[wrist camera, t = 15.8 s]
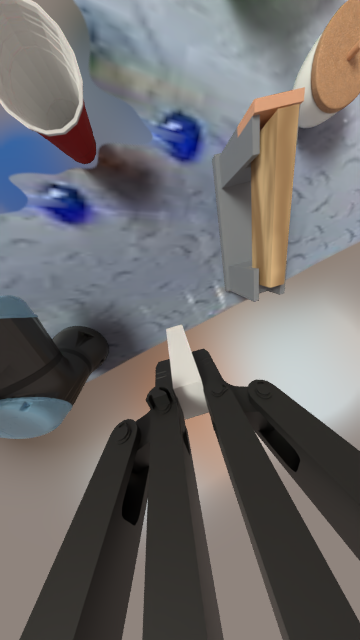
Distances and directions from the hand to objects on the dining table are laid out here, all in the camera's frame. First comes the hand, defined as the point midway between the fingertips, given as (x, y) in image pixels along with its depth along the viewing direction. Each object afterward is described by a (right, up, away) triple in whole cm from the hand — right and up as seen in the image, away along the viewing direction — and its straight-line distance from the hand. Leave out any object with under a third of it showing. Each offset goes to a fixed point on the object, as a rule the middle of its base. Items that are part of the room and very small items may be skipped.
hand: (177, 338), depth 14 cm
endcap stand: (+15, +26, +23) cm, 38 cm away
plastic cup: (-19, +36, +14) cm, 43 cm away
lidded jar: (+26, +47, +16) cm, 56 cm away
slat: (+16, +22, +15) cm, 31 cm away
